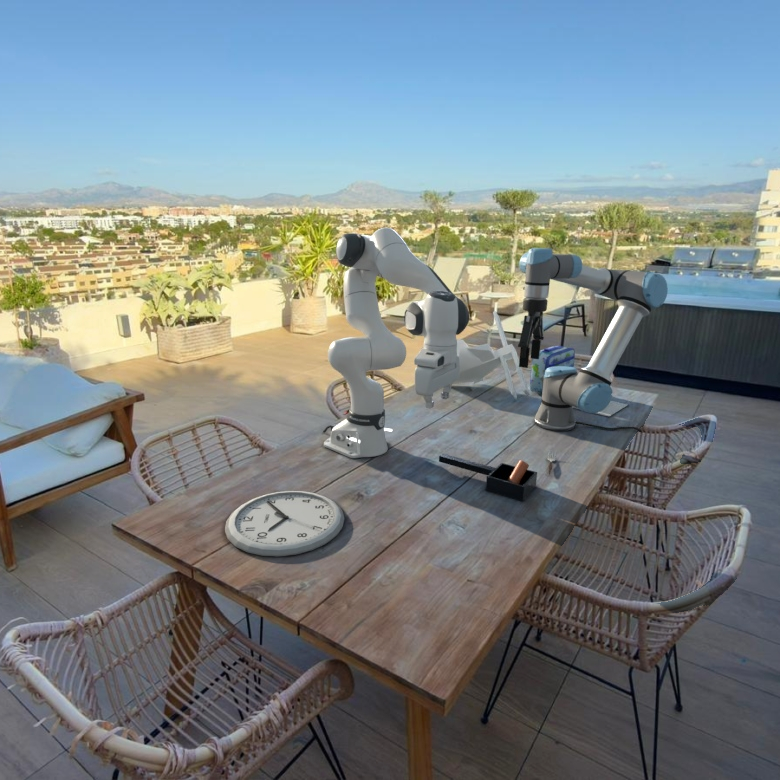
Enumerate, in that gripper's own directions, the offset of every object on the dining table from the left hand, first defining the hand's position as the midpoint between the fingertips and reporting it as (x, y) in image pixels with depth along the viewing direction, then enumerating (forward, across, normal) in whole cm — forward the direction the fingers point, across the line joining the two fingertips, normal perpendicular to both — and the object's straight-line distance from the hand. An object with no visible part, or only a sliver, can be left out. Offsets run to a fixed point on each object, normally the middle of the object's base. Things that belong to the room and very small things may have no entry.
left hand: (437, 402), depth 143 cm
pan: (+27, -15, +9) cm, 32 cm away
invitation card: (+27, -108, +26) cm, 114 cm away
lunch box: (+27, -118, +1) cm, 122 cm away
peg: (+25, -15, +18) cm, 35 cm away
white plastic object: (+27, -97, -26) cm, 104 cm away
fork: (+27, -36, +24) cm, 51 cm away
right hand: (-4, -45, +11) cm, 46 cm away
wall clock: (+27, +36, -24) cm, 51 cm away
